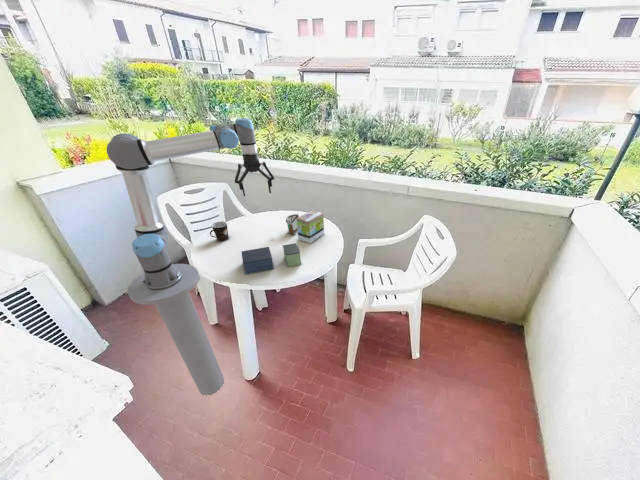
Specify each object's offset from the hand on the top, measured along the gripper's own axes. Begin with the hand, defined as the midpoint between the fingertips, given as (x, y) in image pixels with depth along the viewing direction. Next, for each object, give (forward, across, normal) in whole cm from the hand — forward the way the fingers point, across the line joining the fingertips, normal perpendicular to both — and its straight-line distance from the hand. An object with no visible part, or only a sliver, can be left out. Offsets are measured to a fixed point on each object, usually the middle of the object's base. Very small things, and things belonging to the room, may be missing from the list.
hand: (257, 194), depth 154 cm
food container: (+32, -18, -12) cm, 39 cm away
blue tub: (+32, +7, +22) cm, 39 cm away
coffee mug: (+32, +26, -16) cm, 44 cm away
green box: (+32, -11, +24) cm, 41 cm away
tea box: (+32, -28, 0) cm, 42 cm away
